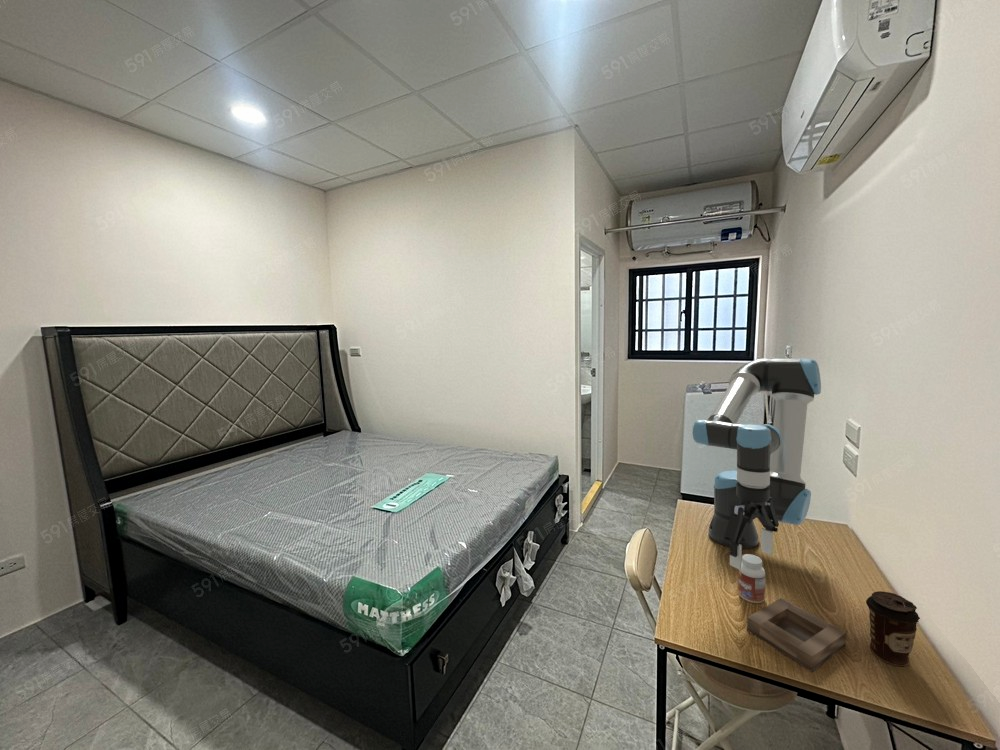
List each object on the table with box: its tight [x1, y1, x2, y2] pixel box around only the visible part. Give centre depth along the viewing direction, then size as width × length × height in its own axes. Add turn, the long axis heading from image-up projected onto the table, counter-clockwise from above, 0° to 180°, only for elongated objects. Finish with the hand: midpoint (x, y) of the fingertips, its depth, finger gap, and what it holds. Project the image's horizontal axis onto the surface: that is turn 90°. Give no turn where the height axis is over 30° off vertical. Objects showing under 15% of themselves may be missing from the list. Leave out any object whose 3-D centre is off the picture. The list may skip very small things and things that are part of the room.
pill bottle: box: [738, 553, 766, 604], centre depth 111 cm, size 6×6×11 cm
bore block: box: [746, 597, 847, 672], centre depth 96 cm, size 14×14×4 cm
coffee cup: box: [865, 591, 921, 667], centre depth 89 cm, size 9×8×13 cm
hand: (751, 559), depth 110 cm, fingers open, 13 cm apart
